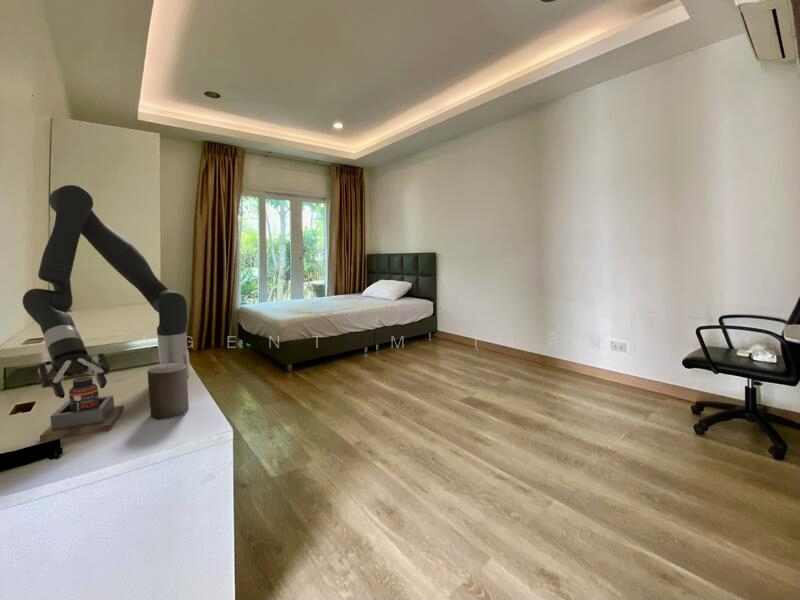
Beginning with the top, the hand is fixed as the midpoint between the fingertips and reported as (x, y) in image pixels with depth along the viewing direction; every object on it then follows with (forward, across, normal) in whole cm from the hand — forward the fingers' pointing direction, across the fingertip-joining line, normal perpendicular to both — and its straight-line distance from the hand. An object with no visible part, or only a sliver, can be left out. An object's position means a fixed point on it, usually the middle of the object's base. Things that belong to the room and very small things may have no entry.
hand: (83, 391), depth 97 cm
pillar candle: (+14, +16, 0) cm, 22 cm away
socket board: (+6, 0, +7) cm, 10 cm away
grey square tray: (+5, 0, +6) cm, 8 cm away
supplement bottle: (+5, 0, +6) cm, 8 cm away
